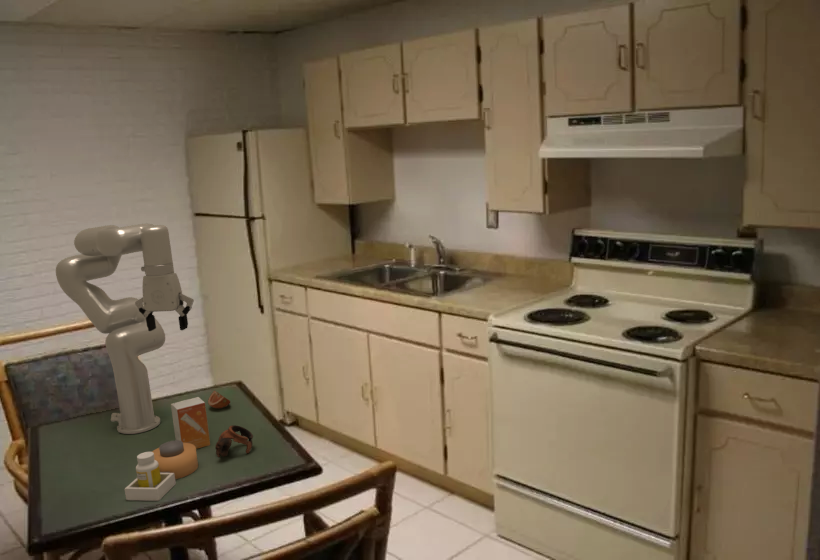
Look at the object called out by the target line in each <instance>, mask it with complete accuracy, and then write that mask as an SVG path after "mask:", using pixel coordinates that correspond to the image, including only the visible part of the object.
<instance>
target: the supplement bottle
mask: <svg viewBox="0 0 820 560" xmlns="http://www.w3.org/2000/svg"><path fill="white" fill-rule="evenodd" d="M154 459H155V457H154V453H153V452H152V451H145V452H141V453H139V454H138V455H136V461H137V465H136V466H135V472H136V478H137V479H138V485H139V487H147V488H156V487H157V486H158V485H159V484H160V483H161V475H160V469H159V464H158V462H157V461H156V460H154Z"/></svg>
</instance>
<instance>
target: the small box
mask: <svg viewBox="0 0 820 560" xmlns="http://www.w3.org/2000/svg"><path fill="white" fill-rule="evenodd" d="M206 407H207V406H206V403H205V401H204V400H203V399H201V397H199V396H197V397H193V398H187V399H184V400H181V401H177V402H173V403H170V409H171V416H172V422H173V423H172V424H173V431H174V436H175V437H174V438H175V440H178V441H182V442H183V443H190V444H193V445H195V447H196V450H197V449H201V448H205V447H209V446H211V439H210V438H211V437H210V431H209V430H210V429H209V422H208V415H207V409H206Z"/></svg>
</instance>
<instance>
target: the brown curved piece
mask: <svg viewBox="0 0 820 560" xmlns="http://www.w3.org/2000/svg"><path fill="white" fill-rule="evenodd" d="M239 433H240V434H239ZM253 438H254V435H253V434H252V432H251V431H250V430H248V429H247V428H245V427H243V426H241V425H237V424H236V425H235V424H233V425H230V426H229V427H228V429H226V430H223V432H221V433H220V435H219V437H218V440H217V442H216V444H215V446H214V447H215V455H216V456H217V457H218V458H221V457H227V456H228V454H229V450H230V448H231V446H232V444H233V443H232V442H234V443H235V442H236V443H238V444H243V445H245V446H246V448H245V449H246V450H245V454H249V453H250V452H251V449H252V448H253V444H254V443H253Z"/></svg>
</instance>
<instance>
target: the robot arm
mask: <svg viewBox="0 0 820 560" xmlns="http://www.w3.org/2000/svg"><path fill="white" fill-rule="evenodd" d="M170 239H171V238H170V232H169V229H168V227H167V225H163V224H157V225H156V224H155V225H154V224H152V223H140V224H134V225H133V224H132V225H127V226H122V227H121V226H120V227H119V226H117V225H114V224H110V225H103V226H102V225H101V226H95V227H89V228H85V229H83V230H81V231H79V232H78V233H77V234H76V236H75V238H74V240H73V243H74V244H73V245H74V247H75V249H76V251H77V252H78V253H80V254H77V255H76V254H74V255H71V256H68V257H65V258H64V259H61V260H60V261H58V263H57V264H56V266H55V277H56V280H57V282H58V285H59V286H60V289H61V290H62V291H63V293H64V294H65V295H66V296H67V297H68V298H69V299H70V300H71V301H73V302H74V303H75V304H76V305H78V306H79V308H80V309H81V310H82V312H83V313H84V314H85V316H86V317H87V318H88V320H89V321H90V322H91V324H92V325H93V326H94V327H95V329H97V331H99V332H100V333H101V334H105V335H107V336H106V338H105V342H104V343H105V349H106V352H107V354H108V356H109V359H110V363H111V366H112V370H113V376H114V382H115V383H114V384H115V388H116V395H117V401H118V407H119V412H112V413H111V416H110V421H111V422H117V423H118V425H117V426H116V429H117V432H118V433H121V434H125V435H134V434H140V433H145V432H148V431H150V430H153V429H155V428H157V427H158V426H159V425H160V424H161V417H160V416H157V415H155V413H154V407H153V406H154V405H153V400H152V399H153V398H152V393H151V387H150V386H151V385H150V379H149V372H148V369H147V367H146V365H145V363H143V362H142V361H141V360H140V359H139V356H141V355H144V354H147V353H151V352H153V351H156V350H158V349H160V348H161V347H162V346H164V345H165V342H166V334H165V331H164V328H163V327H162V325H161V324H160V322H159V321H158V319H157V318H156V317H155V315H154V313H155V312H173V311H175V312H176V313H177V314H178V315H179V316H178V325H179V330H180V331H185V330H186V329H188V328H189V327H188V326H189V322H188V316H187V315H188V314H189V312H190V311H191V310H192V309H193V308H192V307H193V304H194V299H193V298H192V297H189V296H187V295H185V294H184V293H183V290H182V286H181V283H180V279H179V276H178V274H177V272H175V268H174V262H173V254H172V247H171V246H172V245H171V240H170ZM140 252H142V257H143V258H142V259H143V266H141V268H140V270H141V272H144V274H145V275H144V276H142V277H143V278H142V297H140V298H139V299H138V298H137V297H132V296H131V297H124V298H119V299H112V298H111V297H109V295H108V294H107V293H106V291H104V289H102V288H101V287H99V286H97V285H95V284H93V283H90V282H88V281H93V280H98V279H102V278H107V277H110V276H111V275H113V274H114V273H115V271H117V268H118V265H119V263H120V260H121V258H122V256H123V255H128V254H134V253H140ZM184 302H185V303H186V306H184Z"/></svg>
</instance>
